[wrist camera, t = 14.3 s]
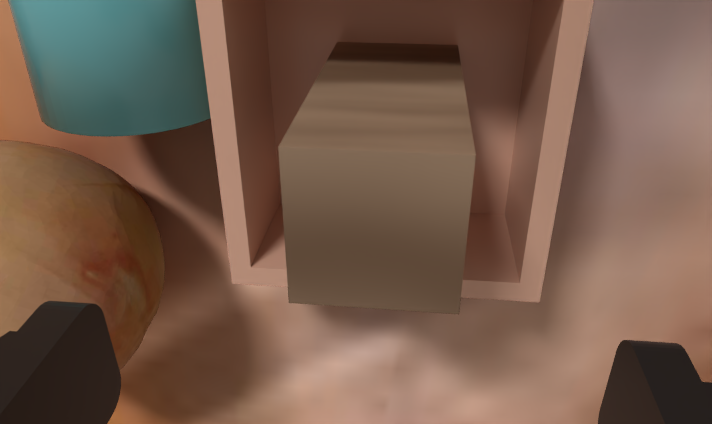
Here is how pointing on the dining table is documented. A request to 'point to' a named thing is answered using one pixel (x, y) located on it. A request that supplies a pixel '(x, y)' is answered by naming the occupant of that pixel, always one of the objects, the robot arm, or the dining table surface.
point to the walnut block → (379, 180)
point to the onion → (76, 242)
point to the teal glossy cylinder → (114, 64)
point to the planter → (484, 98)
